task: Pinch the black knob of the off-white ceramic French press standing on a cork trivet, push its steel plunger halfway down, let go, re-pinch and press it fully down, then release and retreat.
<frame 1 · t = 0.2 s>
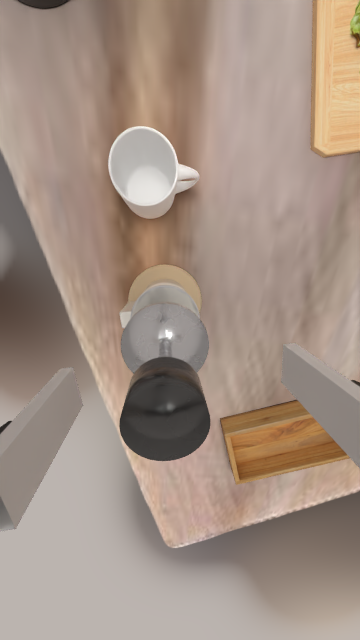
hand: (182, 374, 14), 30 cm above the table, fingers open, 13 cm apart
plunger: (165, 371, 16), point 27 cm above the table, slide at 0.0 cm
tray: (285, 426, 54), on the table
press: (165, 301, 42), on the table
mug: (159, 192, 37), on the table
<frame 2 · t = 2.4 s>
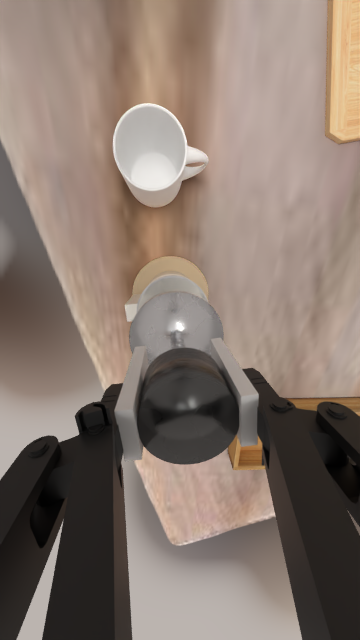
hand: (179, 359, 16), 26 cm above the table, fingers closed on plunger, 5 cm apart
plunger: (180, 364, 15), point 27 cm above the table, slide at 0.0 cm, touching gripper
tray: (292, 422, 52), on the table
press: (170, 294, 41), on the table
mug: (165, 179, 36), on the table
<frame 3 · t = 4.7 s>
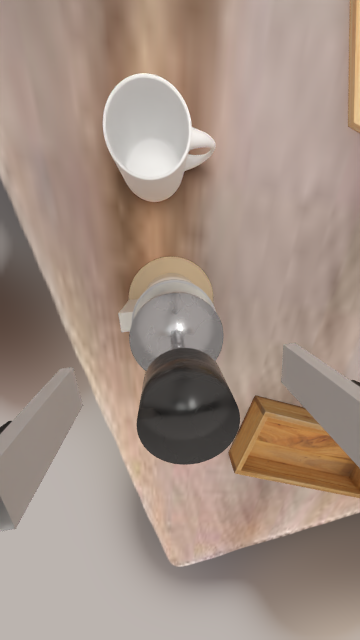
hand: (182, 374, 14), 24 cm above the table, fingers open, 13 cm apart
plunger: (180, 364, 15), point 23 cm above the table, slide at 4.3 cm
tray: (302, 436, 48), on the table
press: (171, 299, 37), on the table
mug: (165, 170, 32), on the table
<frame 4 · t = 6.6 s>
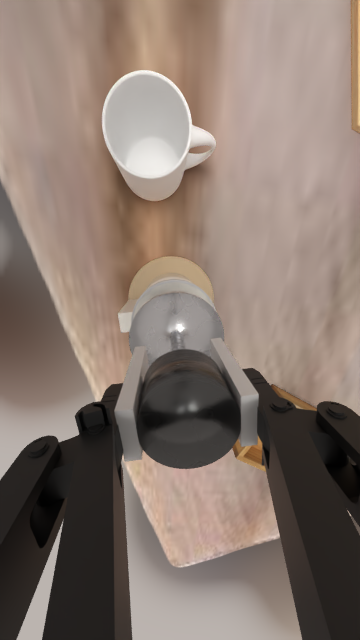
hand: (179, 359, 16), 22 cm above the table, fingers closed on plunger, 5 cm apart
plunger: (180, 366, 15), point 23 cm above the table, slide at 4.3 cm, touching gripper
tray: (303, 437, 48), on the table
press: (171, 299, 37), on the table
mug: (165, 169, 31), on the table
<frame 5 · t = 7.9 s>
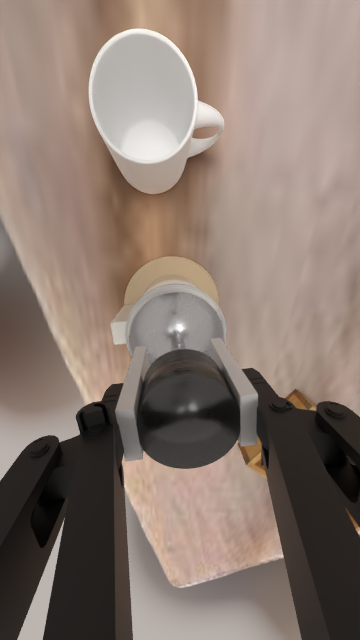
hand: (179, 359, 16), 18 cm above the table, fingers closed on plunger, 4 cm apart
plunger: (180, 366, 15), point 19 cm above the table, slide at 8.0 cm, touching gripper
tray: (314, 451, 45), on the table
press: (172, 304, 33), on the table
mug: (165, 157, 28), on the table
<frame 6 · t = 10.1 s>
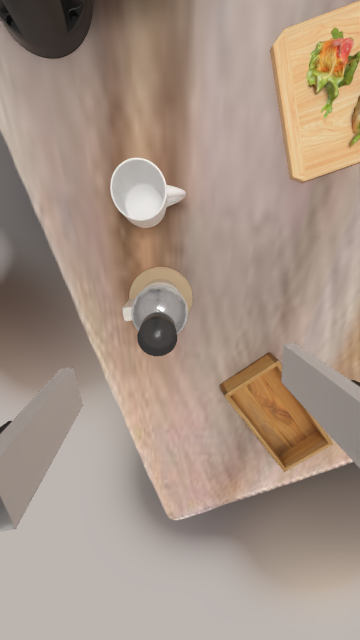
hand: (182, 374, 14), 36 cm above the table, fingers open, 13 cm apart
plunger: (158, 324, 31), point 19 cm above the table, slide at 8.0 cm
tray: (271, 406, 60), on the table
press: (161, 298, 49), on the table
mug: (153, 205, 44), on the table
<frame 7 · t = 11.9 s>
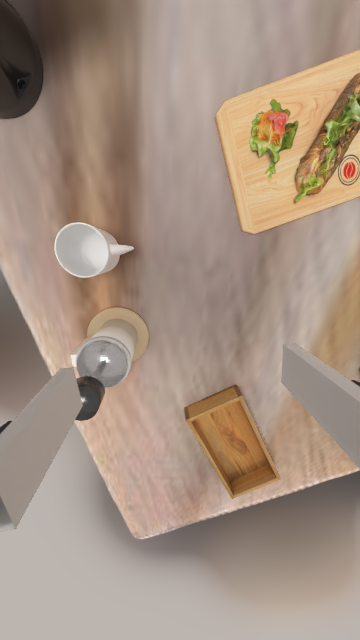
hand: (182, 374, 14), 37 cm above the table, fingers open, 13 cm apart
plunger: (93, 381, 33), point 19 cm above the table, slide at 8.0 cm
tray: (230, 434, 63), on the table
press: (118, 336, 51), on the table
mug: (108, 251, 46), on the table
cutting board: (310, 149, 44), on the table
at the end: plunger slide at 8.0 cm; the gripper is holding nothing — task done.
